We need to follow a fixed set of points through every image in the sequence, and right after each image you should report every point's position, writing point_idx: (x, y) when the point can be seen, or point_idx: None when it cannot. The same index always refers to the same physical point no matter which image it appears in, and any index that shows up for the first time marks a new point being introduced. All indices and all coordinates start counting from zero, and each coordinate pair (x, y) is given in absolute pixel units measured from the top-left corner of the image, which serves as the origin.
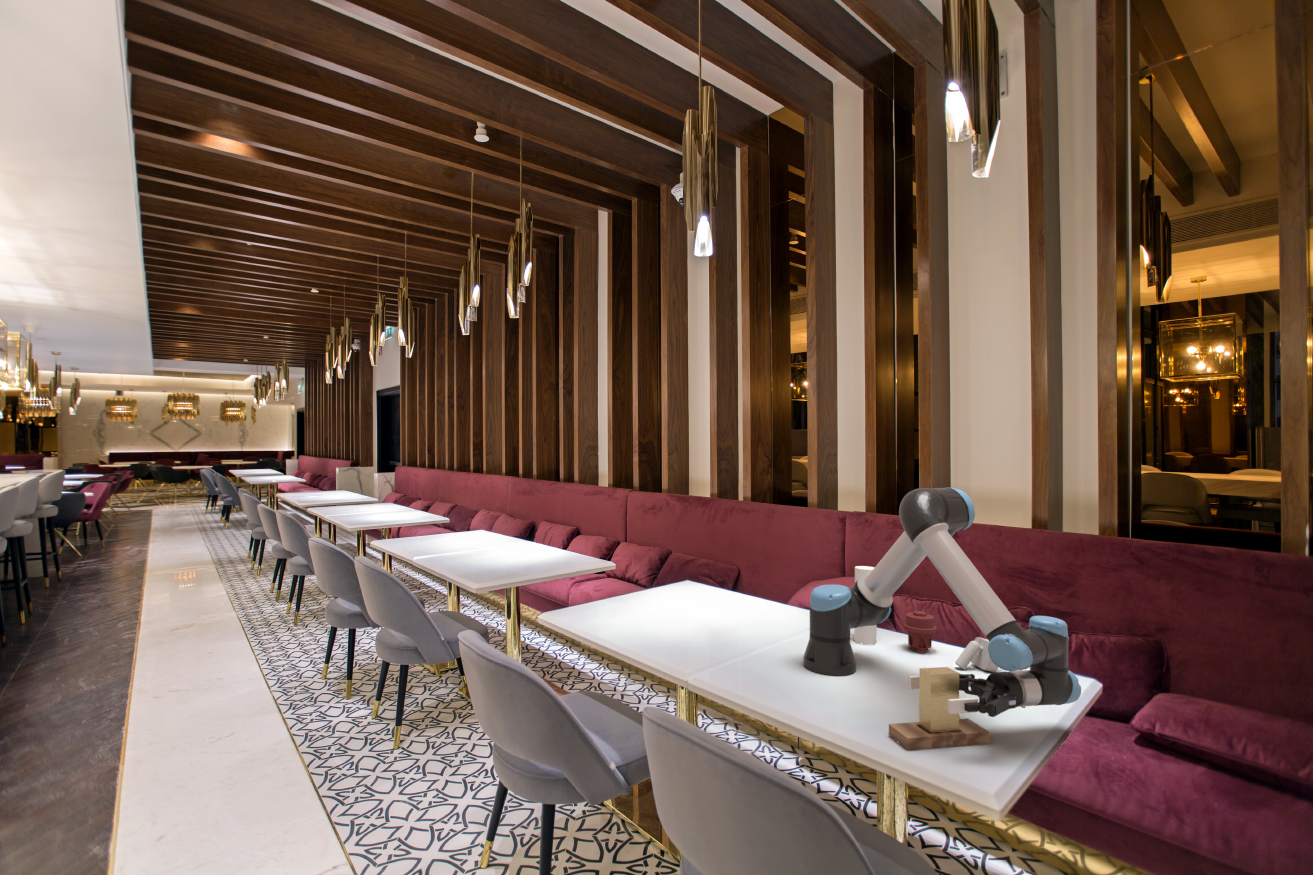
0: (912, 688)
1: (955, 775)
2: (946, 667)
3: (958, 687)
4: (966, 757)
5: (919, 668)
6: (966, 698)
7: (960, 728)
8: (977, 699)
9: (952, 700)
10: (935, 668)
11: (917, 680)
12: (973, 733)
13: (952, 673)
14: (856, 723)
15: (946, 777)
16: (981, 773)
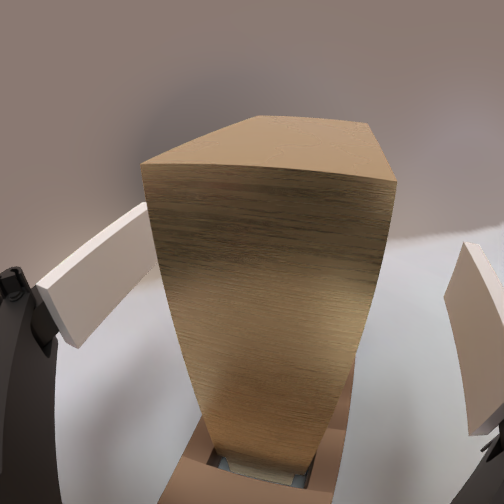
0: (445, 299)
1: (133, 303)
2: (372, 171)
3: (172, 300)
4: (149, 393)
5: (366, 124)
6: (88, 252)
7: (231, 483)
8: (37, 285)
9: (137, 208)
10: (354, 138)
11: (468, 283)
12: (167, 485)
13: (188, 144)
14: (424, 297)
15: (143, 287)
16: (93, 348)
